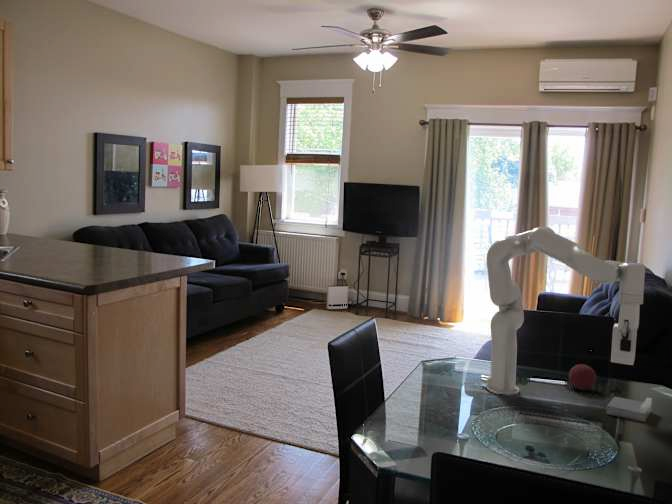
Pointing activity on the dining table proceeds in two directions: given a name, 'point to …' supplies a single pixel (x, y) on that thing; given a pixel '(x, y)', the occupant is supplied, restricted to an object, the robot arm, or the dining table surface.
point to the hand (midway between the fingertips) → (628, 348)
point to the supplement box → (616, 353)
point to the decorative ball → (582, 377)
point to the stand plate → (629, 408)
